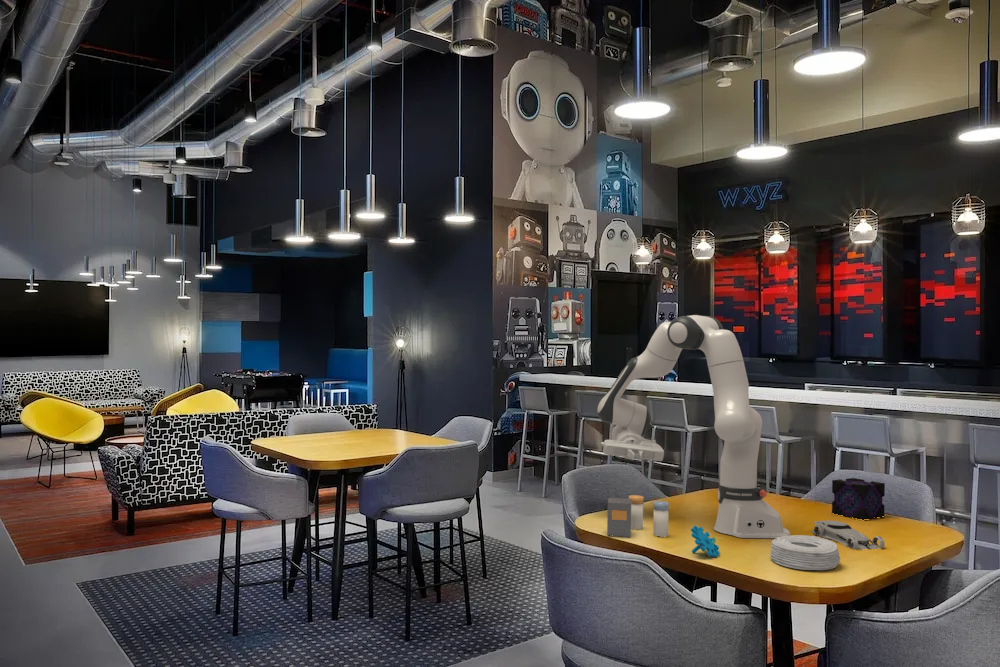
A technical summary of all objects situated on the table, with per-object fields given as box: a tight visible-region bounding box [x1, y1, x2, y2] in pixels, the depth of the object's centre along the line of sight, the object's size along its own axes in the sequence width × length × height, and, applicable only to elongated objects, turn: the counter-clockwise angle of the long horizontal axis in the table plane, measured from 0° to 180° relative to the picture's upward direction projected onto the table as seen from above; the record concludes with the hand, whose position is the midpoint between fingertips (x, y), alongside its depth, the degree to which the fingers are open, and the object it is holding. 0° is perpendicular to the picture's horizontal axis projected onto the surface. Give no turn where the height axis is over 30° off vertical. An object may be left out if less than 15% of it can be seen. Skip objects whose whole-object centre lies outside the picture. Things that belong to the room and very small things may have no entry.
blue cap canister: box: [652, 500, 670, 538], centre depth 236 cm, size 5×5×10 cm
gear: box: [690, 525, 721, 558], centre depth 215 cm, size 11×6×10 cm
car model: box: [811, 520, 886, 551], centre depth 235 cm, size 11×24×5 cm, turn 13°
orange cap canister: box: [628, 494, 645, 530], centre depth 245 cm, size 5×5×10 cm
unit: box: [606, 497, 632, 538], centre depth 237 cm, size 7×9×10 cm
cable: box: [769, 534, 841, 571], centre depth 208 cm, size 18×18×6 cm
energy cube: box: [831, 477, 886, 520], centre depth 271 cm, size 12×12×12 cm
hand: (637, 457), depth 253 cm, fingers closed
